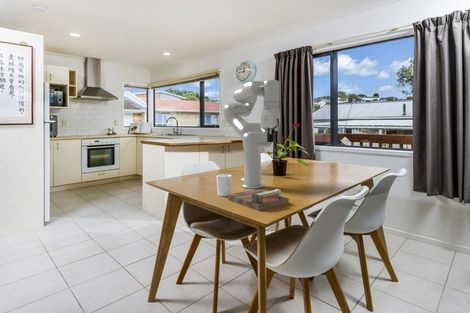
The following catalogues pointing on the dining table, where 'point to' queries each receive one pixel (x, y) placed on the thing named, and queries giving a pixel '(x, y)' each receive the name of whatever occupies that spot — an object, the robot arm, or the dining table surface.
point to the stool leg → (257, 197)
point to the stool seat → (265, 203)
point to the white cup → (224, 184)
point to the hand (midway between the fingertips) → (270, 141)
